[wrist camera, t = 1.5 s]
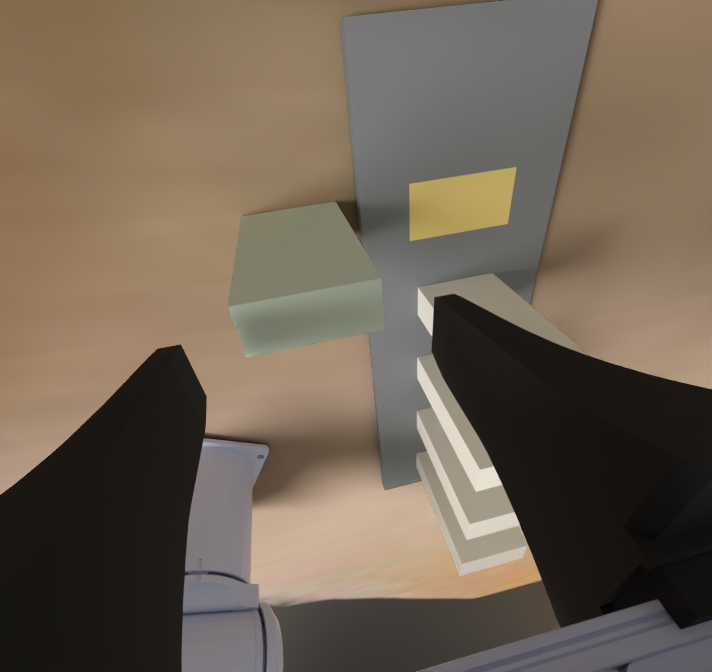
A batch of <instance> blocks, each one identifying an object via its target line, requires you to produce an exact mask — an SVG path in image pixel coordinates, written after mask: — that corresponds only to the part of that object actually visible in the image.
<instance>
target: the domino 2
mask: <svg viewBox="0 0 712 672" xmlns="http://www.w3.org/2000/svg"><path fill="white" fill-rule="evenodd" d="M449 294H456V295H459V296H461V297H463V298H465V299H467V300H469V301H471V302H473V303H475V304H476V305H478V306H480V307H482V308H484V309H486V310H488V311H490V312H491V313H493V314H495V315H497V316H499V317H501V318H503V319H505V320H507V321H509V322H511V323H513V324H515V325H517V326H519V327H521V328H523V329H525V330H527V331H529V332H531V333H534V334H536V335H538V336H540V337H543V338H545V339H547V340H549V341H552V342H554V343H556V344H559V345H561V346H564V347H566V348H569V349H572V350H574V351H577V352H580V353H583V354H585V355H588V356H590V355H589V354H587V353H586V352H585V351H584V350H583V349H582V348H580V347H579V346H578V345H577V344H576V343H574V342H573V341H572V340H571V339H570V338H569V337H567V336H566V335H565V334H564V333H563V332H561V331H560V330H559V329H558V328H557V327H556V326H554V325H553V324H552V323H551V322H550V321H548V320H547V319H546V318H545V317H544V316H543V315H541V314H540V313H539V312H538V311H537V310H536V309H534V308H533V307H532V306H531V305H530V304H528V303H527V302H526V301H525V300H524V299H523V298H521V297H520V296H519V295H518V294H517V293H515V292H514V291H513V290H512V289H511V288H510V287H508V286H507V285H506V284H505V283H504V282H502V281H501V280H500V279H499V278H498V277H497V276H495V275H494V274H493V273H490V274H485V275H480V276H474V277H469V278H464V279H459V280H454V281H448V282H443V283H438V284H433V285H428V286H422V287H418V316H419V318H420V319H421V321H422V322H423V324H424V325H425V327H426V328H427V330H428V332H429V333H430V335H431V336H432V331H433V312H434V297H438V296H444V295H449Z"/></svg>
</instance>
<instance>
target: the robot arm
mask: <svg viewBox="0 0 712 672" xmlns="http://www.w3.org/2000/svg"><path fill="white" fill-rule="evenodd" d="M431 351H432V354H433V356H434V359H435V361H436V363H437V366H438V368H439V370H440V373H441V375H442V377H443V379H444V381H445V383H446V384H447V386H448V388H449V389H450V391H451V393H452V394H453V396H454V398H455V399H456V401H457V403H458V404H459V406H460V408H461V409H462V411H463V412H464V414H465V416H466V417H467V419H468V421H469V422H470V424H471V426H472V427H473V429H474V430H475V432H476V434H477V435H478V437H479V439H480V441H481V442H482V444H483V446H484V448H485V450H486V451H487V453H488V455H489V458H490V460H491V462H492V464H493V466H494V468H495V470H496V472H497V475H498V477H499V479H500V481H501V483H502V485H503V487H504V490H505V492H506V494H507V496H508V499H509V501H510V503H511V505H512V508H513V510H514V512H515V514H516V517H517V519H518V521H519V524H520V526H521V529H522V531H523V533H524V536H525V538H526V541H527V543H528V545H529V548H530V550H531V553H532V555H533V558H534V560H535V563H536V565H537V568H538V571H539V573H540V576H541V578H542V581H543V583H544V586H545V589H546V591H547V594H548V596H549V599H550V602H551V605H552V607H553V610H554V612H555V616H556V618H557V621H558V623H559V625H560V627H561V628H559V629H556V630H553V631H550V632H546V633H543V634H539V635H536V636H533V637H530V638H526V639H523V640H520V641H516V642H513V643H510V644H506V645H503V646H500V647H497V648H493V649H490V650H487V651H483V652H480V653H476V654H473V655H470V656H467V657H463V658H460V659H456V660H453V661H450V662H446V663H443V664H440V665H436V666H433V667H430V668H427V669H423V670H420V671H417V672H712V389H707V388H703V387H699V386H694V385H690V384H686V383H681V382H677V381H673V380H668V379H665V378H661V377H657V376H653V375H649V374H645V373H642V372H638V371H635V370H632V369H628V368H625V367H622V366H618V365H615V364H612V363H608V362H605V361H602V360H599V359H596V358H593V357H591V356H588V355H585V354H583V353H580V352H577V351H574V350H572V349H569V348H566V347H564V346H561V345H559V344H556V343H554V342H552V341H549V340H547V339H545V338H543V337H540V336H538V335H536V334H534V333H531V332H529V331H527V330H525V329H523V328H521V327H519V326H517V325H515V324H513V323H511V322H509V321H507V320H505V319H503V318H501V317H499V316H497V315H495V314H493V313H491V312H490V311H488V310H486V309H484V308H482V307H480V306H478V305H476V304H475V303H473V302H471V301H469V300H467V299H465V298H463V297H461V296H459V295H456V294H449V295H444V296H438V297H434V312H433V331H432V350H431ZM206 398H207V397H206V395H205V393H204V391H203V389H202V387H201V385H200V383H199V380H198V378H197V376H196V374H195V372H194V370H193V368H192V366H191V364H190V362H189V360H188V358H187V356H186V354H185V352H184V350H183V348H182V346H181V345H176V346H170V347H165V348H160V349H157V350H156V351H155V352H154V353H153V354H152V355H151V356H150V357H149V358H148V359H147V360H146V361H145V362H144V363H143V364H142V365H141V366H140V367H139V368H138V369H137V370H136V371H135V372H134V373H133V374H132V375H131V376H130V377H129V379H128V380H127V381H126V382H125V383H124V384H123V385H122V386H121V387H120V388H119V389H118V390H117V391H116V392H115V393H114V394H113V395H112V396H111V397H110V398H109V399H108V400H107V401H106V403H105V404H104V405H103V406H102V407H101V408H100V409H98V410H97V411H96V412H95V413H94V414H93V415H92V416H91V417H90V418H89V419H88V420H87V421H86V422H85V423H84V424H83V425H82V426H81V427H80V428H79V429H78V430H77V431H76V432H75V433H74V434H73V435H72V436H71V437H69V438H68V439H67V440H66V441H65V442H64V443H63V444H62V445H61V446H60V447H58V448H57V449H56V450H55V451H54V452H53V453H52V454H50V455H49V456H48V457H47V458H46V459H45V460H43V461H42V462H41V463H40V464H39V465H37V466H36V467H35V468H34V469H33V470H31V471H30V472H29V473H28V474H27V475H25V476H24V477H23V478H22V479H20V480H19V481H18V482H17V483H15V484H14V485H13V486H12V487H10V488H9V489H8V490H6V491H5V492H4V493H2V494H1V495H0V672H283V647H282V637H281V630H280V626H279V623H278V620H277V618H276V616H275V614H274V613H273V611H272V609H271V607H270V606H269V605H268V604H267V603H265V602H262V603H259V585H258V584H250V572H251V529H252V488H253V486H254V484H255V482H256V480H257V478H258V475H259V473H260V471H261V469H262V467H263V464H264V462H265V460H266V458H267V456H268V454H269V447H268V446H267V445H262V444H253V443H243V442H234V441H225V440H216V439H207V438H204V434H205V425H206Z"/></svg>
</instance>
